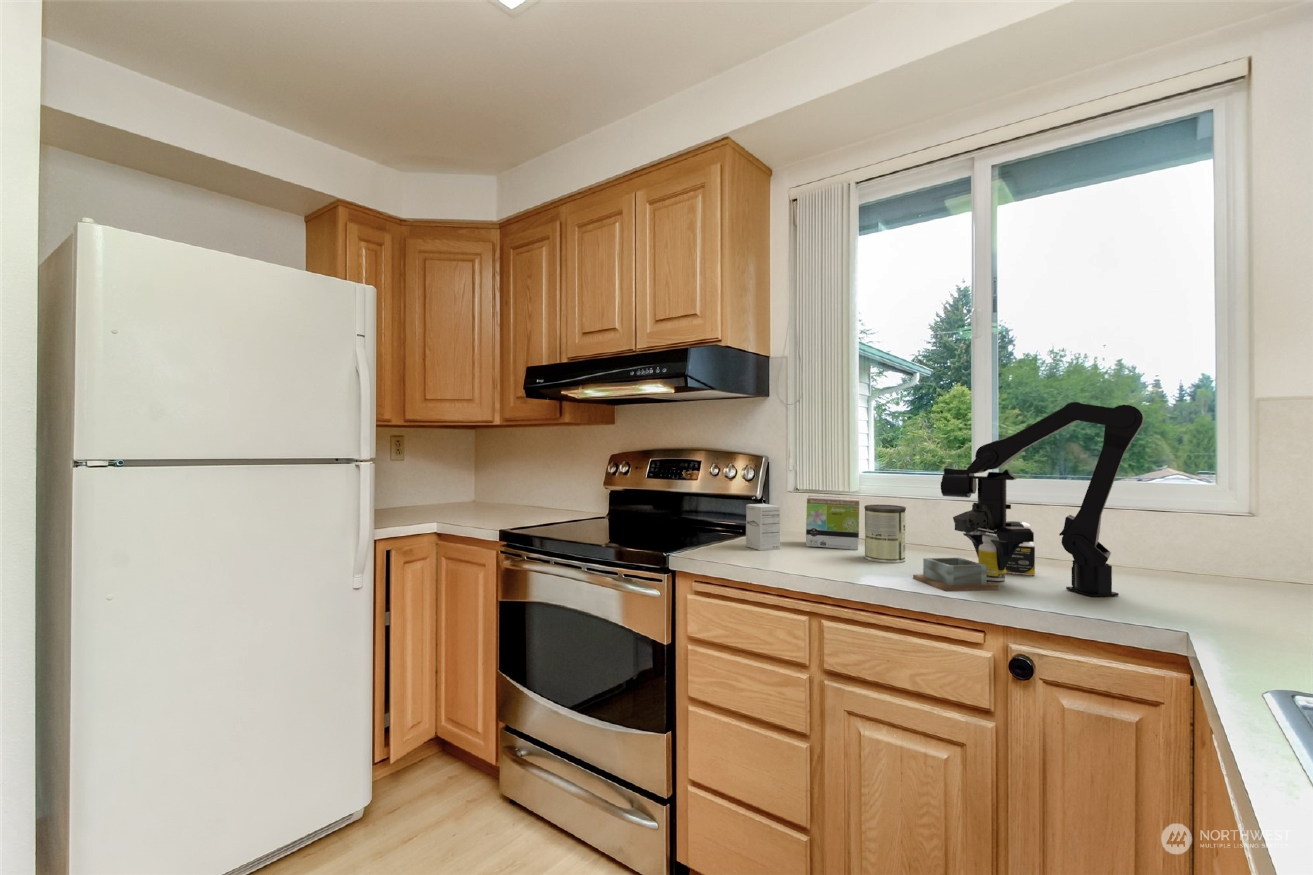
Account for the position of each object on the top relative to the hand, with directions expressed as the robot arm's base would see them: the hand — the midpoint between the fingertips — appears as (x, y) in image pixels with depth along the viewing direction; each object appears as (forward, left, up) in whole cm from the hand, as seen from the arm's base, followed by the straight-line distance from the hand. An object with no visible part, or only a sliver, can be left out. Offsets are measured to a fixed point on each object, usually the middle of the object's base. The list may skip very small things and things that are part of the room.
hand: (991, 567), depth 135 cm
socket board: (-3, +12, -3) cm, 12 cm away
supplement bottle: (0, 0, -3) cm, 3 cm away
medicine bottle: (+7, -12, -3) cm, 14 cm away
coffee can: (+25, +12, -3) cm, 28 cm away
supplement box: (+45, +39, -3) cm, 60 cm away
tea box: (+46, +17, -3) cm, 49 cm away
